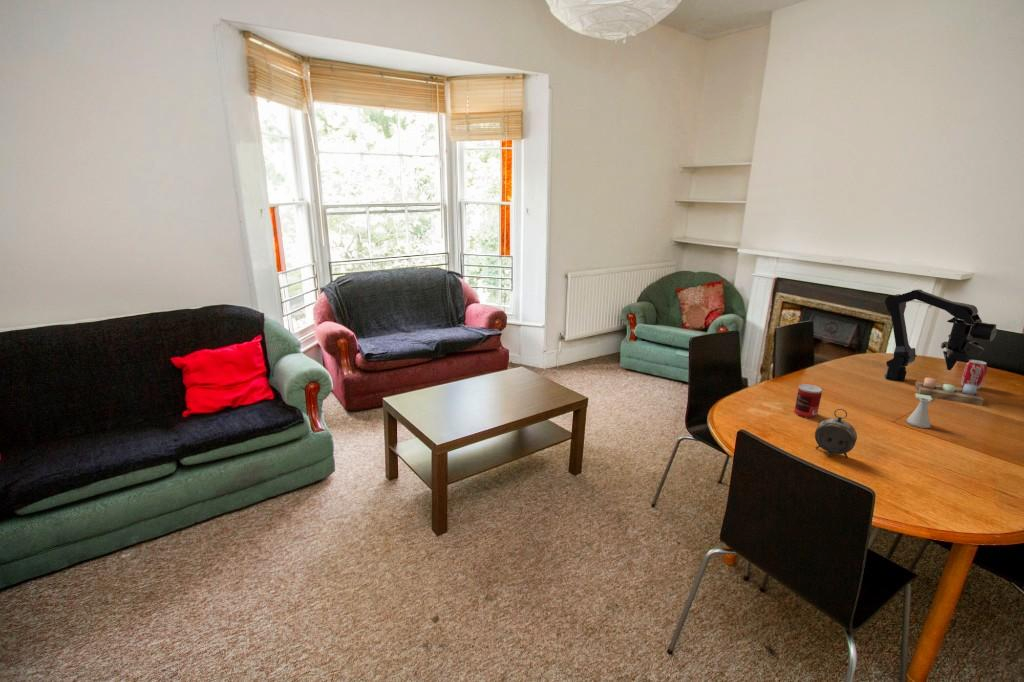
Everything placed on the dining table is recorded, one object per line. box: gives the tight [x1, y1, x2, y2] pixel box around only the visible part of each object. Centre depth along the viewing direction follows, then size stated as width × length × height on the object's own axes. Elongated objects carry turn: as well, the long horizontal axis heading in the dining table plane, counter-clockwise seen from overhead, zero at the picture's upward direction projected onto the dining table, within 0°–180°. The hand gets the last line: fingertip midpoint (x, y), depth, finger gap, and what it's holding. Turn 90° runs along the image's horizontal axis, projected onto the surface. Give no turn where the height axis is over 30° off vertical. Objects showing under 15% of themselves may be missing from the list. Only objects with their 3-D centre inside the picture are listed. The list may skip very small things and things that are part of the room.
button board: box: [914, 380, 984, 406], centre depth 207 cm, size 20×12×2 cm, turn 59°
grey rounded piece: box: [962, 384, 978, 396], centre depth 203 cm, size 4×4×4 cm
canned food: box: [793, 383, 823, 419], centre depth 186 cm, size 8×8×11 cm
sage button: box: [942, 383, 957, 392], centre depth 206 cm, size 4×4×4 cm
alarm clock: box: [814, 408, 858, 459], centre depth 156 cm, size 11×5×16 cm, turn 49°
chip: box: [914, 392, 933, 402], centre depth 204 cm, size 5×5×1 cm
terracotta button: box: [923, 377, 938, 389], centre depth 209 cm, size 4×4×4 cm
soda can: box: [960, 359, 988, 390], centre depth 215 cm, size 7×7×12 cm
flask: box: [906, 398, 931, 429], centre depth 179 cm, size 7×7×10 cm
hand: (948, 369), depth 207 cm, fingers closed
